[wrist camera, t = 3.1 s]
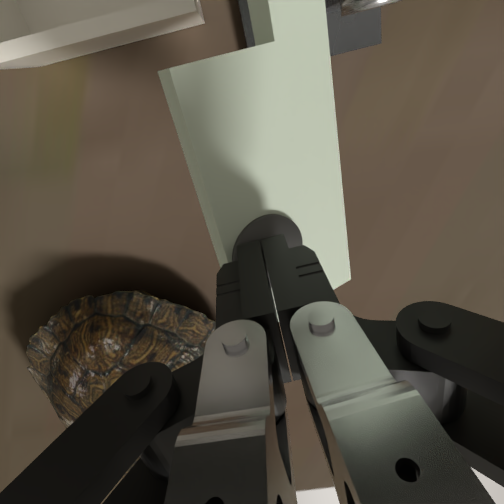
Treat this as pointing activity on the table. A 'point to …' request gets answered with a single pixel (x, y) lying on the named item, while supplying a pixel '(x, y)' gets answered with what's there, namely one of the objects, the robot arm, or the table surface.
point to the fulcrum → (339, 23)
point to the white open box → (84, 27)
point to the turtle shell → (110, 345)
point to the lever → (266, 137)
